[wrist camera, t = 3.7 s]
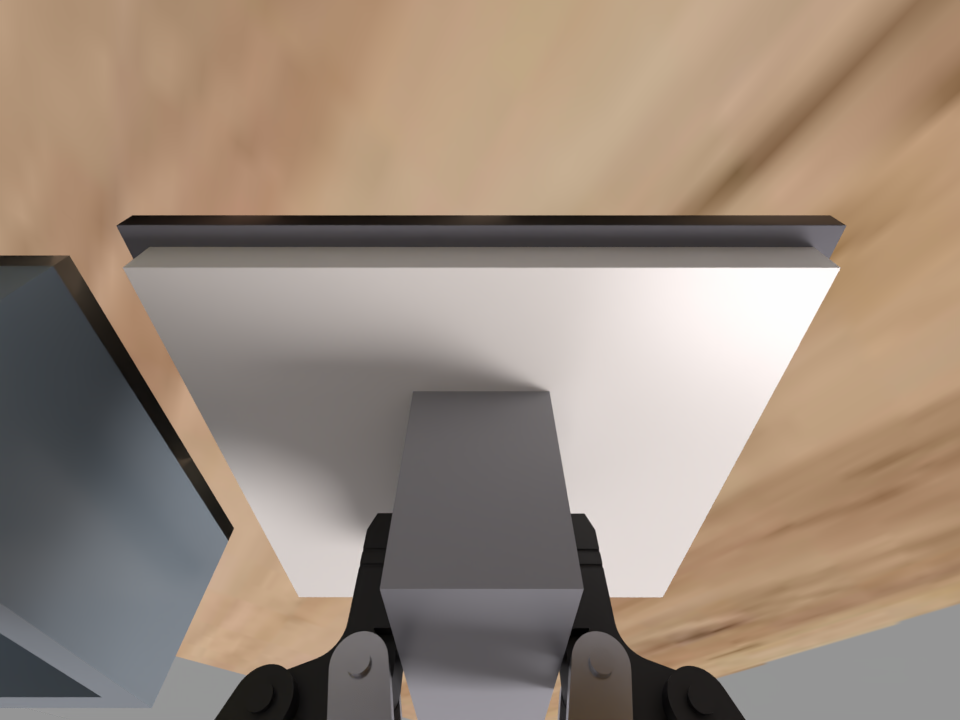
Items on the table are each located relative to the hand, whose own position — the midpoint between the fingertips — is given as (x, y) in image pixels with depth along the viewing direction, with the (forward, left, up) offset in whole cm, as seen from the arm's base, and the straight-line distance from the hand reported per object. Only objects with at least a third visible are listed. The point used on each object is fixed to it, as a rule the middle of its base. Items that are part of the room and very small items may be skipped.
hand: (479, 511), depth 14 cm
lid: (0, 0, -2) cm, 2 cm away
